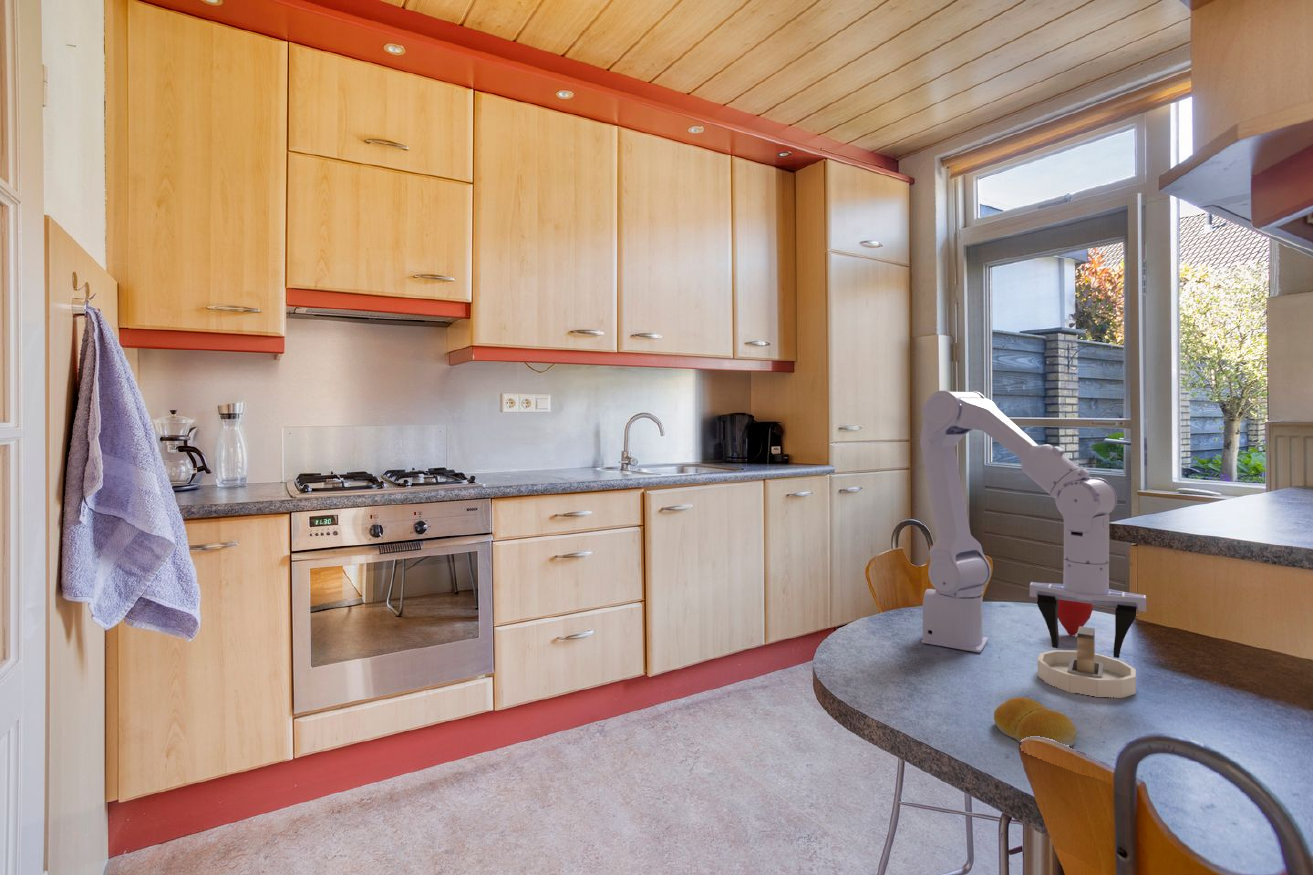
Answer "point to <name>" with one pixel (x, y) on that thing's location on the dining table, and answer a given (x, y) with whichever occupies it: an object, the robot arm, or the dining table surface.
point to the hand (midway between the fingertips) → (1085, 650)
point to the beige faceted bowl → (1087, 675)
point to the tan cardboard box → (1086, 650)
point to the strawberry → (1073, 614)
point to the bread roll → (1033, 721)
